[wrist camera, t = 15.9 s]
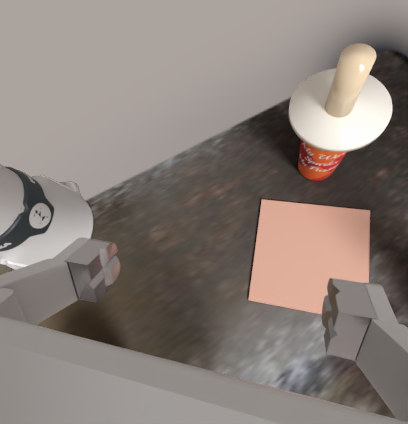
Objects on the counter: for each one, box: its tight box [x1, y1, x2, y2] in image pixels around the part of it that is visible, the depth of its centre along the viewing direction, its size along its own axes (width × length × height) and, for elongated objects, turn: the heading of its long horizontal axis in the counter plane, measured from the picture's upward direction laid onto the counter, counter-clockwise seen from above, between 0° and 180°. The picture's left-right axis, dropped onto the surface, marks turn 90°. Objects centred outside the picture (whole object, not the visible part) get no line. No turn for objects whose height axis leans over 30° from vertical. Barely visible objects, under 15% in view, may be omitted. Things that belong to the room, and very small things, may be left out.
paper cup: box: [298, 140, 347, 181], centre depth 39 cm, size 8×8×14 cm
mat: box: [248, 199, 370, 314], centre depth 42 cm, size 16×16×1 cm
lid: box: [289, 44, 392, 152], centre depth 29 cm, size 11×11×8 cm
